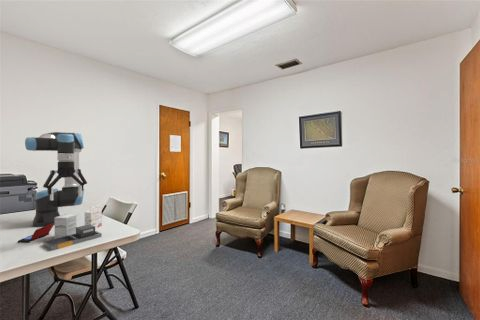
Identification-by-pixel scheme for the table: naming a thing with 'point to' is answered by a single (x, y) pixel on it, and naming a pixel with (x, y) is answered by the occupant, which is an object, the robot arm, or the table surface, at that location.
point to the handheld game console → (37, 234)
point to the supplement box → (65, 225)
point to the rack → (68, 241)
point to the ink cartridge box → (94, 216)
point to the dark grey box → (85, 231)
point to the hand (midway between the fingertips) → (66, 198)
